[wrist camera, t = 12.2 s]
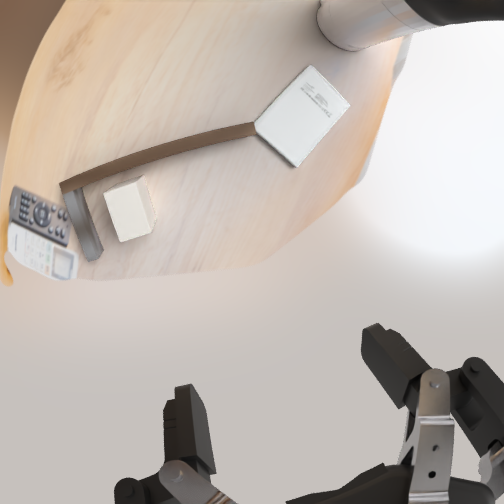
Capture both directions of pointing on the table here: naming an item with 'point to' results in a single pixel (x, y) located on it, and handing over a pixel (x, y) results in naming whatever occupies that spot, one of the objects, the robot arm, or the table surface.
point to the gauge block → (131, 208)
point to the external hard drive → (301, 116)
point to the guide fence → (73, 185)
